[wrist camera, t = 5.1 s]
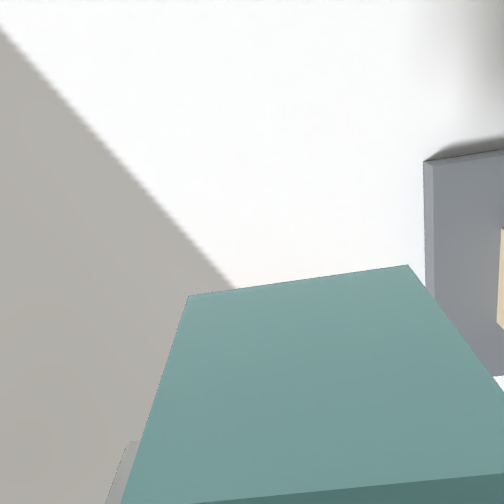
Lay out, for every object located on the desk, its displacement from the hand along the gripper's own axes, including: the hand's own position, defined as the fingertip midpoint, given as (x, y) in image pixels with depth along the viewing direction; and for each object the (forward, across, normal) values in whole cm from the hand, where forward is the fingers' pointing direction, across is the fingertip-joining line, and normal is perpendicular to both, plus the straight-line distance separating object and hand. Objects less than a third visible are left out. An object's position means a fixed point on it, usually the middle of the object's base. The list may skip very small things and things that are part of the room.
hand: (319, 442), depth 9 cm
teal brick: (+2, 0, 0) cm, 2 cm away
